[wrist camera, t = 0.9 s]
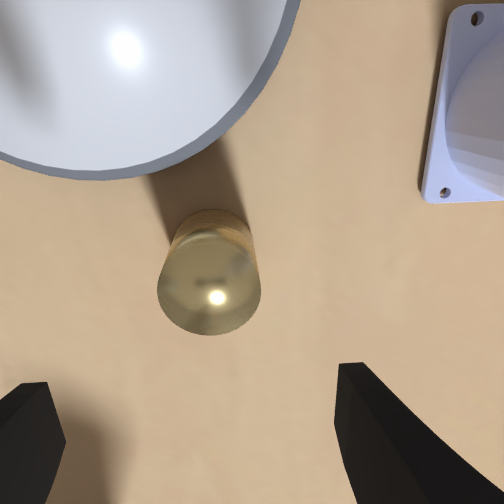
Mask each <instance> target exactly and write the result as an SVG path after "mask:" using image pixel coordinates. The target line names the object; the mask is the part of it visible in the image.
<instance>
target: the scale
mask: <svg viewBox="0 0 504 504" xmlns="http://www.w3.org/2000/svg"><path fill="white" fill-rule="evenodd" d="M300 1H301V0H0V160H3V161H6V162H8V163H11V164H13V165H16V166H18V167H21V168H24V169H27V170H31V171H35V172H38V173H42V174H46V175H49V176H55V177H62V178H68V179H75V180H100V181H106V180H116V179H125V178H133V177H137V176H141V175H145V174H149V173H153V172H157V171H160V170H162V169H165V168H167V167H170V166H172V165H175V164H178V163H180V162H182V161H184V160H186V159H187V158H189V157H191V156H193V155H194V154H196V153H198V152H200V151H202V150H203V149H205V148H206V147H207V146H209V145H210V144H211V143H213V142H214V141H215V140H216V139H218V138H219V137H220V136H222V135H223V134H224V133H225V132H226V131H227V130H228V129H229V128H230V127H231V126H232V125H233V124H234V123H235V122H236V121H237V120H238V119H239V118H240V117H241V116H242V115H243V114H244V113H245V112H246V111H247V110H248V108H249V107H250V106H251V104H252V103H253V102H254V100H255V99H256V98H257V97H258V95H259V94H260V93H261V91H262V90H263V88H264V86H265V85H266V83H267V81H268V80H269V78H270V76H271V74H272V73H273V71H274V69H275V68H276V66H277V64H278V62H279V59H280V57H281V55H282V53H283V50H284V48H285V46H286V43H287V41H288V39H289V36H290V34H291V31H292V27H293V24H294V21H295V18H296V14H297V11H298V8H299V4H300Z"/></svg>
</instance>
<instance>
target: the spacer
mask: <svg viewBox="0 0 504 504" xmlns="http://www.w3.org/2000/svg"><path fill="white" fill-rule="evenodd" d="M157 294H158V299H159V303H160V305H161V308H162V309H163V311H164V313H165V314H166V315H167V317H168V318H169V319H170V320H171V321H172V322H173V323H175V324H176V325H177V326H179V327H180V328H182V329H184V330H186V331H188V332H191V333H195V334H199V335H220V334H225V333H228V332H231V331H233V330H235V329H237V328H239V327H240V326H242V325H243V324H245V323H246V322H247V321H248V320H249V319H250V318H251V317H252V315H253V314H254V313H255V311H256V309H257V307H258V304H259V302H260V297H261V285H260V279H259V273H258V266H257V260H256V254H255V248H254V242H253V238H252V235H251V232H250V230H249V229H248V227H247V226H246V224H245V223H244V222H243V221H242V220H241V219H240V218H238V217H237V216H235V215H233V214H232V213H229V212H227V211H223V210H217V209H209V210H203V211H199V212H197V213H194V214H192V215H190V216H189V217H188V218H186V219H185V220H184V221H183V222H182V223H181V225H180V226H179V227H178V229H177V231H176V233H175V236H174V239H173V241H172V244H171V247H170V249H169V252H168V255H167V258H166V260H165V263H164V266H163V268H162V271H161V274H160V277H159V280H158V286H157Z"/></svg>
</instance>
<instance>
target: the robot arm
mask: <svg viewBox="0 0 504 504" xmlns="http://www.w3.org/2000/svg"><path fill="white" fill-rule="evenodd" d="M474 13H476V14H477V16H478V21H477V24H476V25H475V26H473V25H472V24H471V17H472V15H473V14H474ZM443 188H446V192H445V194H444V195H443V196H440V191H441V190H442V189H443ZM421 197H422V199H423V200H425V201H426V202H428V203H432V204H433V203H456V202H479V201H502V200H504V3H496V4H465V5H461V6H459V7H457V8H455V9H454V10H453V11H452V12H451V14H450V16H449V19H448V23H447V29H446V36H445V42H444V48H443V55H442V61H441V67H440V74H439V80H438V86H437V93H436V99H435V105H434V112H433V118H432V124H431V131H430V137H429V143H428V150H427V156H426V162H425V169H424V175H423V181H422V188H421ZM334 426H335V430H336V434H337V439H338V443H339V447H340V451H341V455H342V459H343V463H344V467H345V470H346V472H347V475H348V478H349V481H350V484H351V487H352V490H353V492H354V495H355V498H356V501H357V504H504V492H503V491H502V490H500V489H499V488H498V487H497V486H495V485H494V484H493V483H491V482H490V481H489V480H488V479H487V478H485V477H484V476H483V475H482V474H480V473H479V472H478V471H477V470H476V469H474V468H473V467H472V466H471V465H470V464H469V463H467V462H466V461H465V460H464V459H463V458H462V457H461V456H459V455H458V454H457V453H456V452H455V451H454V450H453V449H451V448H450V447H449V446H448V445H447V444H446V443H445V442H444V441H443V440H441V439H440V438H439V437H438V436H437V435H436V434H435V433H434V432H433V431H432V430H431V429H430V428H429V427H428V426H426V425H425V424H424V423H423V422H422V421H421V420H420V419H419V418H418V417H417V416H416V415H415V414H414V413H413V412H412V411H411V410H410V409H409V408H408V407H407V406H406V405H405V404H404V403H403V402H402V401H401V400H400V399H399V398H398V397H397V396H396V395H395V394H394V393H393V392H392V391H391V390H390V389H389V388H388V387H387V386H386V385H385V384H384V383H383V382H382V381H381V380H380V379H379V378H378V377H377V376H376V375H375V374H374V373H373V372H372V371H371V370H370V369H369V368H368V367H367V366H366V365H365V364H364V363H363V362H358V363H342V364H339V369H338V381H337V393H336V405H335V417H334ZM65 444H66V440H65V437H64V434H63V431H62V428H61V425H60V421H59V418H58V415H57V412H56V409H55V406H54V403H53V399H52V396H51V393H50V390H49V387H48V384H47V382H37V383H21V384H20V385H19V386H17V387H16V388H15V389H13V390H12V391H11V392H10V393H8V394H7V395H6V396H4V397H3V398H2V399H1V400H0V504H45V502H46V499H47V497H48V495H49V492H50V490H51V488H52V485H53V482H54V479H55V476H56V473H57V470H58V467H59V464H60V460H61V457H62V454H63V450H64V447H65Z"/></svg>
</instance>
